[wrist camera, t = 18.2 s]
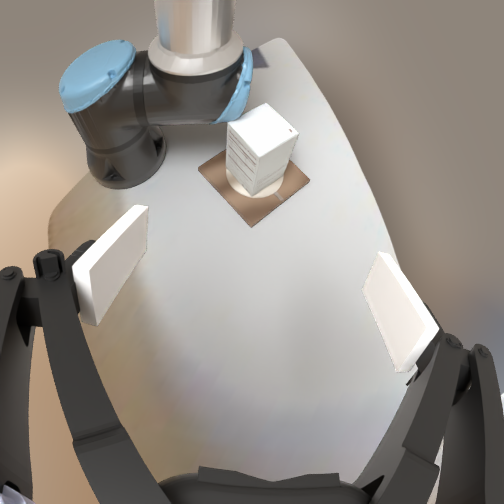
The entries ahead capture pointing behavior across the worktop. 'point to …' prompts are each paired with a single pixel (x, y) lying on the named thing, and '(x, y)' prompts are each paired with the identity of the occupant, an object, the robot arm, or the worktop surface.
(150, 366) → the worktop surface
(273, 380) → the worktop surface
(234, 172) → the supplement box
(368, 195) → the worktop surface
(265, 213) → the dial board
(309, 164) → the worktop surface
